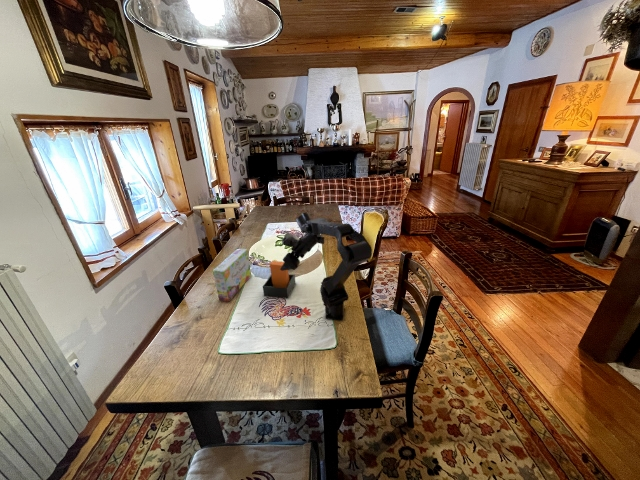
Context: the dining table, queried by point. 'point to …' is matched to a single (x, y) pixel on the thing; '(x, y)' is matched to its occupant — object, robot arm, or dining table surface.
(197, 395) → the dining table surface
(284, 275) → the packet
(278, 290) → the black square tray
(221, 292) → the snack box
